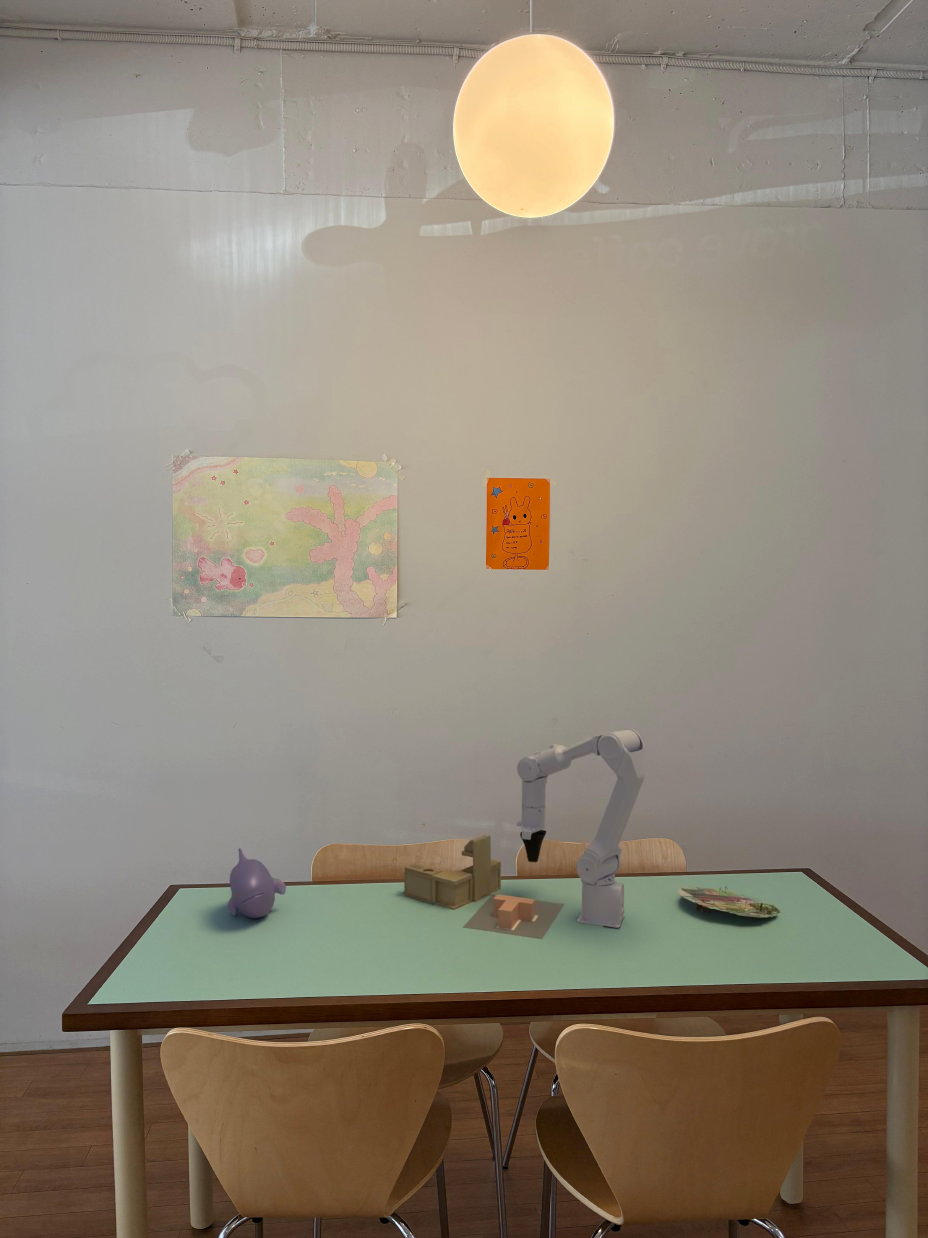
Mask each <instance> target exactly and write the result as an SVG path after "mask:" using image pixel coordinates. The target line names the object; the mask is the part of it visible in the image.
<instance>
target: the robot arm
mask: <svg viewBox="0 0 928 1238" xmlns="http://www.w3.org/2000/svg"><path fill="white" fill-rule="evenodd" d="M548 747H549V748H547V749H545V750H543V751H541V750H538V751H535V752H534V755H531V756H523V758H521V759H520V760H519V761H518V763H517V765H516V768H517V769H516V770H517V774H518V777H519V778H520V779H521V820H519V821H517V822H516V826H518V827H520V828H521V832H520V833H519V837H520V839H521V841H522V842H523V844H524V848H525V853H526V858H527V861H528V863H537V862H538V861H539V858H540V852H541V849H542V848H541V847H542V844H543V842H544V839H545V836H546V835H547V830H544V829H546V828H547V823H546V789H547V788H546V784H547V783H548V782H547V781H548V780H547V779H548V777H549V776H550V775H553V774H556V773H558V772H561V771H563V770H567V769H569V767H571V764H572V761H573V760H576V759H579V758H583V757H585V756H588V755H591V754H594V755H595V756H597V757H598V756H601V758H602V759H603V760H604V762H605V763H606V764H607V765H608V767H609V768H610V769H611V770H612V771H613V773H614V774H615V775H616V777H617V779H616V781H615V784H614V787H613V789H612V792H611V795H610V798H609V800H608V803H607V806H606V808H605V810H604V813H603V816H602V819H601V822H600V824H599V826H598V829H597V832H596V835H595V837H594V839H593V840H592V841H591V842H590V843H589V844H588V846H587V847H586V848H585V850H584V852H583V854H582V855H580V856H579V858H577V860H576V864H575V869H576V873H577V876H578V877H579V879H580V881H581V913H580V915H579V916H578V917H577V920H576V922H577V923H581V924H589V925H595V926H596V925H597V926H602V927H609V928H615V929H616V928H617V929H619V928H620V927H621V925H622V923H623V920H624V918H625V884H624V883H622V882H618V881H616V880H615V878H616V873H617V872H618V871H619V870H620V866H621V853H622V848H621V846H619V844H620V842H621V839H622V837H623V834H624V832H625V829H626V827H627V824H628V822H629V818H630V817H631V813H632V811H633V809H634V806H635V804H636V801H637V798H638V796H639V793H640V791H641V788H642V786H643V783H644V780H645V762H644V753H645V750H646V744H645V742H644V741H643V738H642V736H641V735H640V733H639V732H638V731H636V730H635V729H634V728H625V729H622V730H616V731H612V732H611V731H610V732H606V733H605V732H604V733H602V734H596V735H592V736H590V737H587V738H585V739H583V740H581V741H578V742H576V743H574V744H572V745H569V746H567V747H566V746H564V745H561V744H557V743H555V744H551V745H549V746H548Z"/></svg>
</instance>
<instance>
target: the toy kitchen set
mask: <svg viewBox="0 0 928 1238" xmlns="http://www.w3.org/2000/svg"><path fill="white" fill-rule="evenodd" d="M491 843H492V842H491V835H489V834H487V835H485V834H483V835H480V836H478V837H475V838H472V839H470V840H469V841H468V842H467V844H465V845H464V848H463V849H464V850H461V856H462V857H463V856H464V857H469V858H472V865H471V866H468V867H465V868H463V869H461V870H445V871H444V870H443V871H442V870H441V869H436V868H432V867H429V866H427V865H422V864H419V863H415V862H414V863H411V864H408V865H406V866H404V872H403V873H404V875H403V876H404V878H403V879H404V883H403V884H404V885H403V886H404V889H403V890H404V896H406V897H408V898H410V899H411V898H412V899H415V900H418V901H422V902H425V903H428V904H430V905H438V906H440V907H443V908H446V909H451V910H453V911H455V910H457V909H459V908H462V907H464V906H466V905H468V904H471V903H477V902H478V901H481V900H483V899H486V898H487V897H491V895H492V894H493V893H496V892H497V891H500V890H502V887H501V886H502V879H501V878H502V875H501V874H502V869H501V867H502V862H501V861H499V860H495V859H492V858H491V857H492V855H491V852H492V850H491V849H492V848H491V847H492V846H491V845H492V844H491Z"/></svg>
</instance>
